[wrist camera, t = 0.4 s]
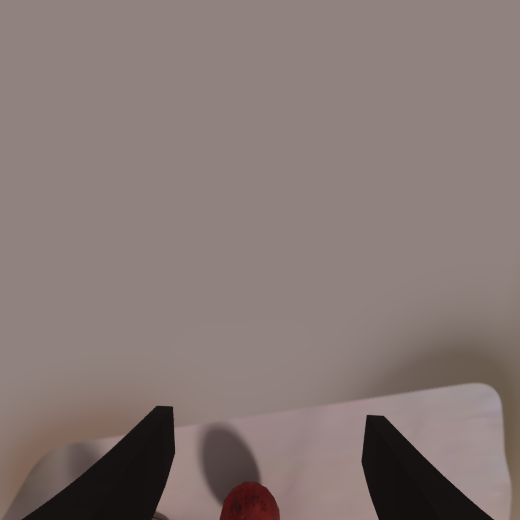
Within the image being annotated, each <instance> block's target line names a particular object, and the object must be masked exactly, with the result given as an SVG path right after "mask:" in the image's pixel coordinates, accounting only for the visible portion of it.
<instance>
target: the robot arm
mask: <svg viewBox="0 0 520 520" xmlns="http://www.w3.org/2000/svg"><path fill="white" fill-rule="evenodd" d="M174 455H175V440H174V418H173V407H170V406H156V407H155V408H154V409H153V410H152V411H151V412H150V413H149V414H148V415H147V416H146V417H145V418H144V419H143V420H142V421H141V422H140V423H139V424H138V425H136V426H135V427H134V428H133V429H132V430H131V431H130V432H129V433H128V434H127V435H126V436H125V437H124V438H123V439H122V440H121V441H120V442H118V443H117V444H116V445H115V446H114V447H113V448H112V449H111V450H110V451H109V452H108V453H107V454H105V455H104V456H103V457H102V458H101V459H100V460H99V461H97V462H96V463H95V464H94V465H93V466H92V467H90V468H89V469H88V470H87V471H86V472H85V473H83V474H82V475H81V476H80V477H79V478H77V479H76V480H75V481H74V482H72V483H71V484H70V485H69V486H67V487H66V488H65V489H64V490H62V491H61V492H60V493H58V494H57V495H56V496H54V497H53V498H52V499H50V500H49V501H48V502H46V503H45V504H44V505H42V506H41V507H39V508H38V509H36V510H35V511H34V512H32V513H31V514H29V515H28V516H26V517H25V518H23V519H22V520H152V518H153V516H154V513H155V511H156V508H157V506H158V503H159V501H160V498H161V496H162V493H163V491H164V488H165V485H166V482H167V479H168V476H169V472H170V469H171V465H172V462H173V458H174ZM362 466H363V470H364V474H365V478H366V482H367V485H368V489H369V493H370V496H371V499H372V502H373V505H374V507H375V510H376V513H377V516H378V518H379V520H494V519H492V518H491V517H490V516H489V515H487V514H486V513H485V512H484V511H483V510H481V509H480V508H479V507H478V506H477V505H475V504H474V503H473V502H472V501H471V500H470V499H469V498H467V497H466V496H465V495H464V494H463V493H462V492H461V491H460V490H459V489H457V488H456V487H455V486H454V485H453V484H452V483H451V482H450V481H449V480H447V479H446V478H445V477H444V476H443V475H442V474H441V473H440V472H439V471H438V470H437V469H436V468H435V467H434V466H433V465H432V464H431V463H430V462H429V461H428V460H427V459H426V458H425V457H424V456H423V455H422V454H421V453H420V452H419V451H418V450H417V449H416V448H415V447H414V446H413V445H412V444H411V443H410V442H409V441H408V440H407V439H406V438H405V437H404V436H403V435H402V434H401V433H400V432H399V431H398V430H397V429H396V428H395V427H394V426H393V425H392V424H391V423H390V422H389V421H388V420H387V419H386V418H385V417H384V416H377V415H367V418H366V426H365V435H364V444H363V453H362Z"/></svg>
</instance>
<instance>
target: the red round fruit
mask: <svg viewBox="0 0 520 520" xmlns="http://www.w3.org/2000/svg"><path fill="white" fill-rule="evenodd" d="M220 520H280V514H279V508H278V506H277V503H276V501H275V498H274V497H273V495H272V494H271V493H270V492H269V490H268V489H267V488H266V487H264V486H262V485H260V484H259V483H257V482H244V483H242V484H240V485H238V486H237V487H235V488H233V489H232V490H231V492H230V493H229V495H228V496H227V498H226V499H225V501H224V504H223V508H222V512H221V516H220Z"/></svg>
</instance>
